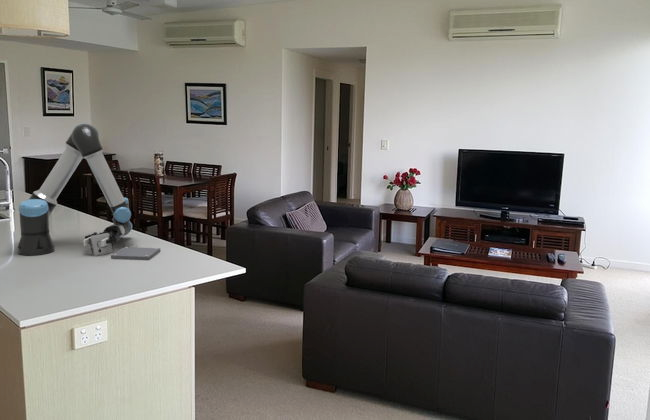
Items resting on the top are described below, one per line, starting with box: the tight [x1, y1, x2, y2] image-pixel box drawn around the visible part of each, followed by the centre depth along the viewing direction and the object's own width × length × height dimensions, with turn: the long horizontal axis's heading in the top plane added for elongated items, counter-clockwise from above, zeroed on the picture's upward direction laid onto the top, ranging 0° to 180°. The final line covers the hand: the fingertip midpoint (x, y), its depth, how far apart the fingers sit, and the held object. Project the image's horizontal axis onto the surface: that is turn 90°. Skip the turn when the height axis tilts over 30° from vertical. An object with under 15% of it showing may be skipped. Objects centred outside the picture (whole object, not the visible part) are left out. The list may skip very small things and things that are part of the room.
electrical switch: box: [89, 233, 114, 257], centre depth 255 cm, size 9×5×9 cm, turn 146°
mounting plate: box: [110, 246, 161, 261], centre depth 255 cm, size 17×16×2 cm
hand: (93, 243), depth 250 cm, fingers closed on electrical switch, 7 cm apart
